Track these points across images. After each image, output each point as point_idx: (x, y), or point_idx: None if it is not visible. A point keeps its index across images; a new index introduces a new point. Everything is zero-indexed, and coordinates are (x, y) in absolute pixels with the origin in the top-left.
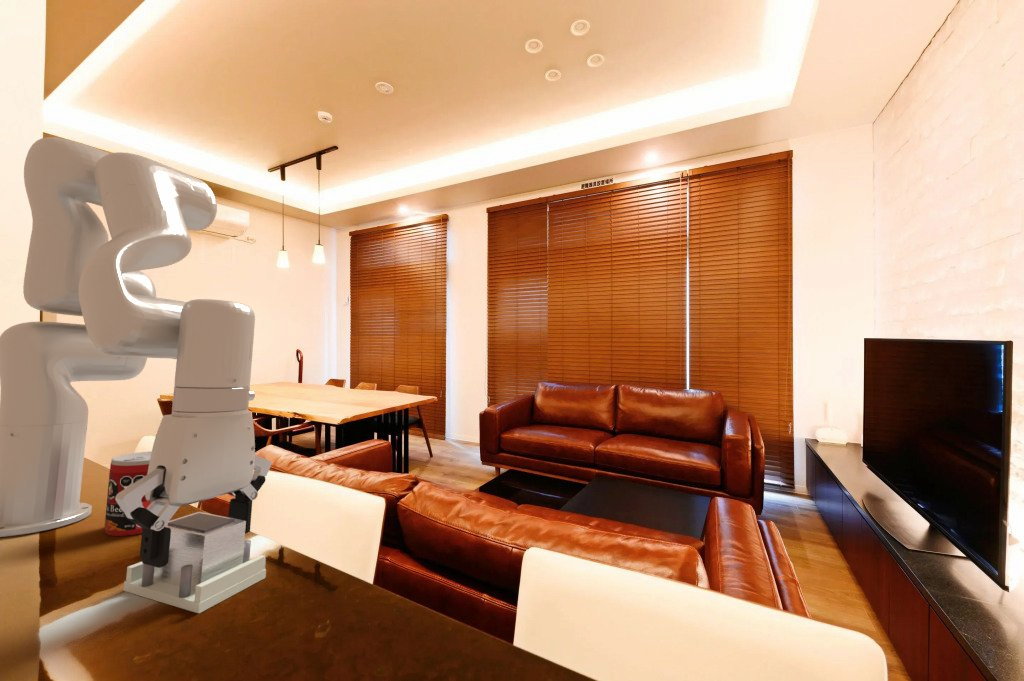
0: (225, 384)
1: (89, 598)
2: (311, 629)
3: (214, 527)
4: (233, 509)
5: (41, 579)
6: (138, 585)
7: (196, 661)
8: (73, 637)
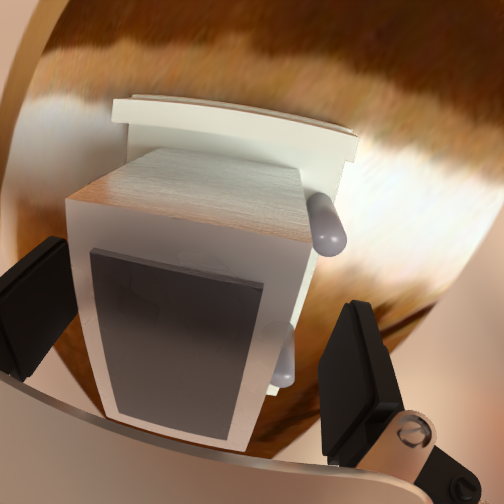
0: None
1: (102, 57)
2: (174, 440)
3: (151, 421)
4: (349, 387)
5: None
6: (126, 155)
7: (83, 375)
8: (27, 191)
